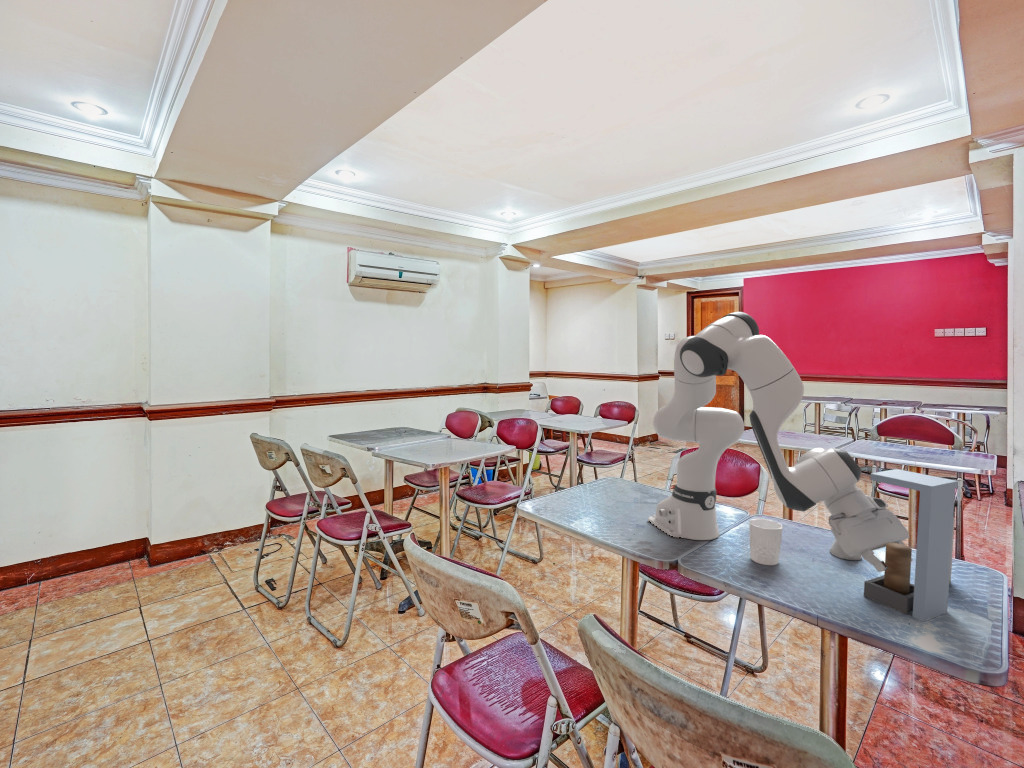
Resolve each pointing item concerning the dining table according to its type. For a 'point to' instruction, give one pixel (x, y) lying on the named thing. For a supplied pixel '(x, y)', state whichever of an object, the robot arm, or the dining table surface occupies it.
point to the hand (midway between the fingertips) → (896, 566)
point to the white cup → (765, 541)
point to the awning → (929, 538)
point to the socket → (889, 595)
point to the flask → (842, 552)
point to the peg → (898, 568)
